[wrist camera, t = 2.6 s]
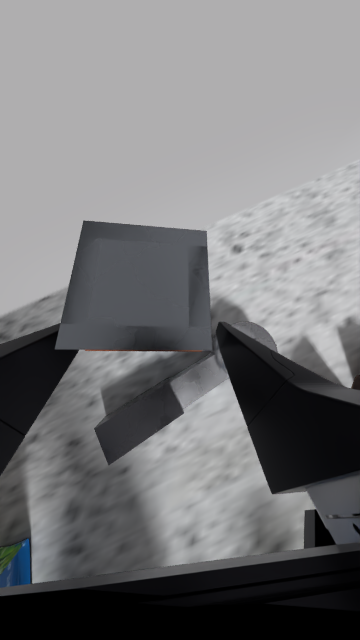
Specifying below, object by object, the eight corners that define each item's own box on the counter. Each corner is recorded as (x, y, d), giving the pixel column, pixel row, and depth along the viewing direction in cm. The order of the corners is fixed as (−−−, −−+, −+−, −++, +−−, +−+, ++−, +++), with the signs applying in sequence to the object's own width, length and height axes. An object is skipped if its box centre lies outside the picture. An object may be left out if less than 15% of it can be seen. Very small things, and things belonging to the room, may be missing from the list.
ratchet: (125, 463, 14) (98, 534, 8) (99, 400, 15) (61, 429, 10) (269, 361, 18) (313, 365, 12) (241, 317, 19) (269, 304, 13)
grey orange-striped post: (180, 350, 17) (213, 352, 4) (140, 350, 17) (52, 350, 4) (180, 313, 18) (207, 230, 6) (143, 312, 18) (82, 219, 5)
